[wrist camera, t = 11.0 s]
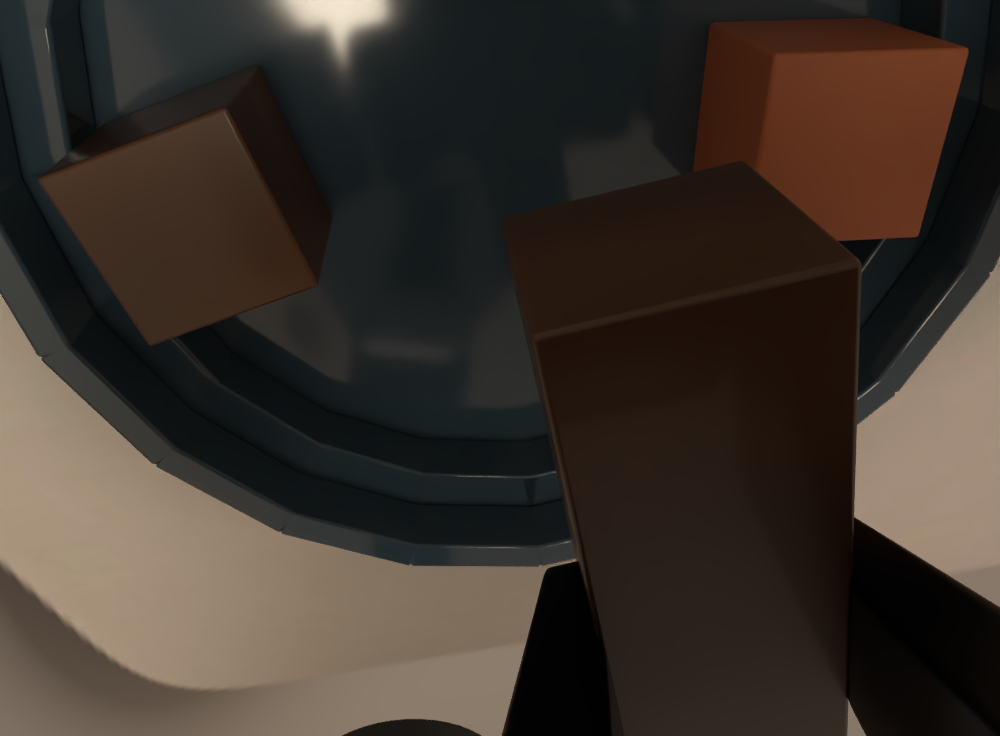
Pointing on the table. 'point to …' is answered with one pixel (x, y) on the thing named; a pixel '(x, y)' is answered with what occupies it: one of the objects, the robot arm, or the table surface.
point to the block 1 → (195, 207)
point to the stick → (702, 443)
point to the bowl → (422, 239)
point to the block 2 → (832, 116)
